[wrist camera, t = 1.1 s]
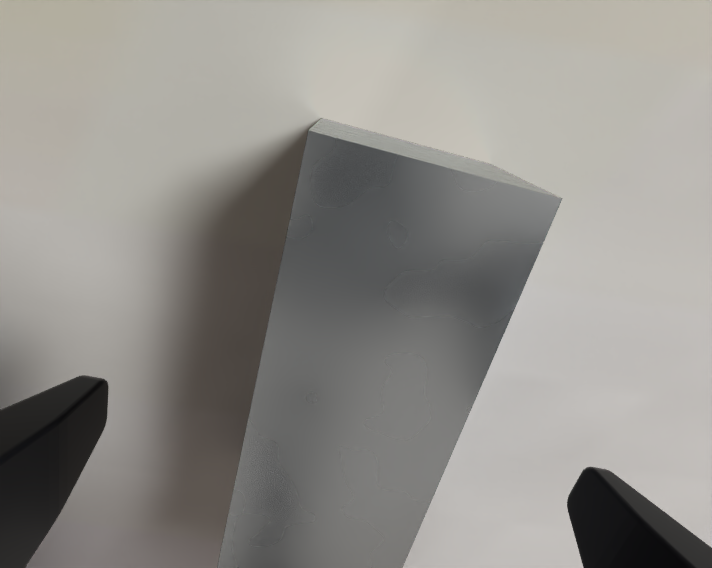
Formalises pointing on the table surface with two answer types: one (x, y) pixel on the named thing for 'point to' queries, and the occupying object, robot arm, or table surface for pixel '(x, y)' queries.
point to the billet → (375, 345)
